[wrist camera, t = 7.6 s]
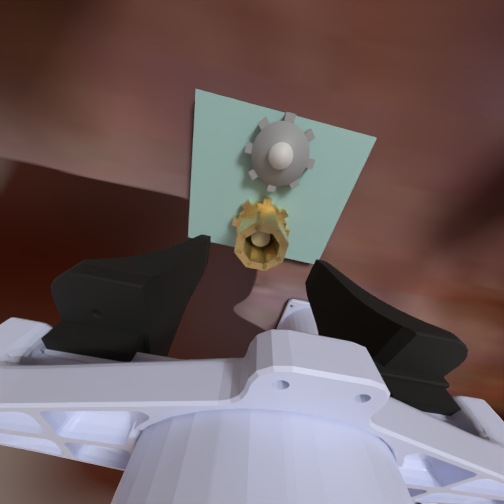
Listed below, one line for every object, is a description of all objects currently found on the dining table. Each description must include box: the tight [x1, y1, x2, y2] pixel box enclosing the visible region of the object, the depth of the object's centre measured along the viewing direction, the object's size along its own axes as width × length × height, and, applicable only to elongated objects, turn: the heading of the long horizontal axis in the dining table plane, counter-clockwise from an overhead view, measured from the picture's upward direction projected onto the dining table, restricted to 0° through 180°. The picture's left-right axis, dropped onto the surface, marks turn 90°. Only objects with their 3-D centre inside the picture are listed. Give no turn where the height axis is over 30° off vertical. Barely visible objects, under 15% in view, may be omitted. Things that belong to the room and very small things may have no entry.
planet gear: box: [232, 196, 290, 271], centre depth 16 cm, size 5×5×5 cm
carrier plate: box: [188, 89, 377, 264], centre depth 16 cm, size 12×14×4 cm
